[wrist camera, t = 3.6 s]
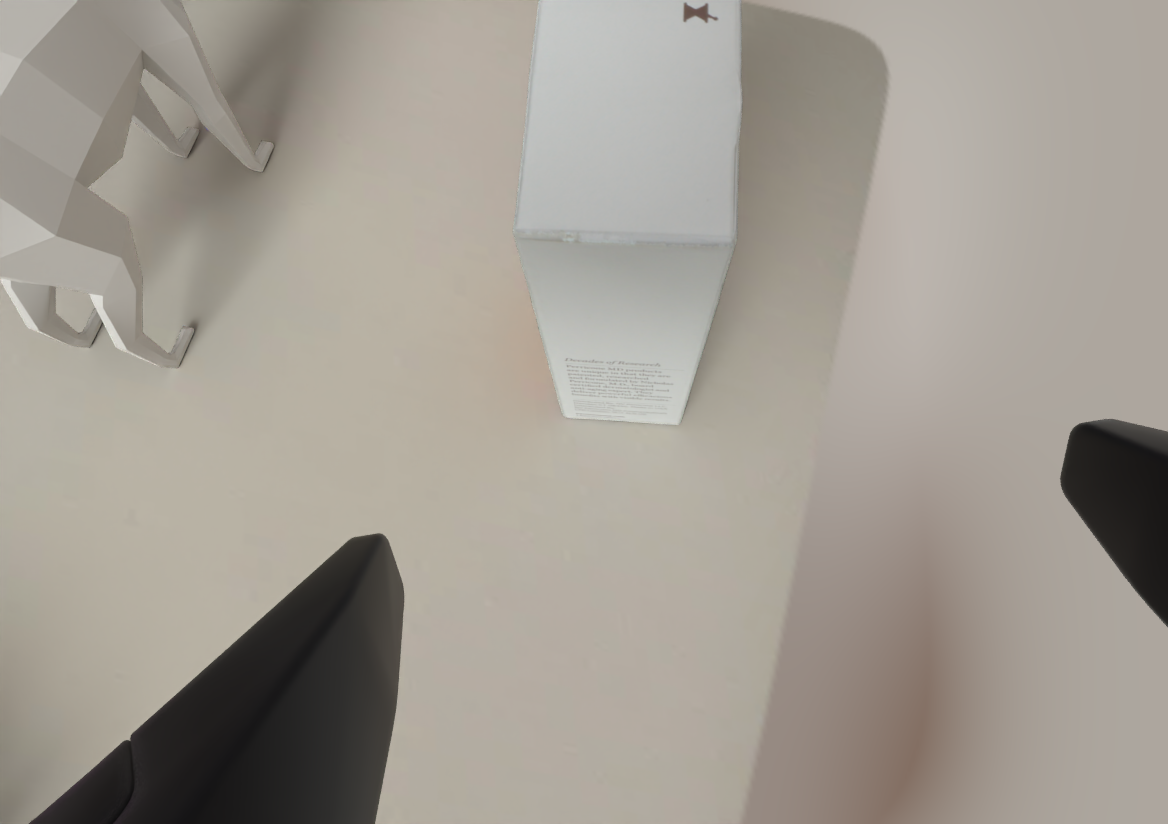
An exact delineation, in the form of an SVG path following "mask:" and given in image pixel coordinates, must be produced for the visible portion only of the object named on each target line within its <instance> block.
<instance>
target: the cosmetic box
mask: <svg viewBox="0 0 1168 824" xmlns="http://www.w3.org/2000/svg"><path fill="white" fill-rule="evenodd" d="M741 55H742V8H741V0H539V3H538V11H537V18H536V26H535V33H534V39H533V47H532V55H531V63H530V71H529V83H528V96H527V107H526V119H525V130H524V138H523V147H522V156H521V165H520V174H519V183H518V192H517V202H516V211H515V219H514V226H513V235H514V238H515V242H516V246H517V249H518V253H519V257H520V261H521V264H522V268H523V272H524V275H525V279H526V282H527V286H528V290H529V293H530V297H531V302H532V306H533V309H534V312H535V316H536V320H537V324H538V328H539V331H540V335H541V339H542V342H543V347H544V350H545V354H546V357H547V361H548V365H549V368H550V372H551V375H552V380H553V383H554V387H555V391H556V394H557V398H558V401H559V405H560V408H561V412H562V415H563V416H564V417H566V418H571V419H597V420H613V421H626V422H639V423H653V424H669V425H678V424H680V423H681V421H682V417H683V414H684V411H685V408H686V405H687V401H688V398H689V394H690V391H691V388H692V385H693V381H694V378H695V375H696V372H697V369H698V366H699V362H700V359H701V356H702V353H703V350H704V347H705V343H706V340H707V337H708V334H709V331H710V328H711V325H712V321H713V318H714V315H715V312H716V308H717V305H718V302H719V298H720V294H721V291H722V288H723V284H724V281H725V278H726V275H727V271H728V268H729V265H730V261H731V258H732V255H733V252H734V248H735V245H736V241H737V236H738V178H739V140H740V129H741V120H742V86H741Z"/></svg>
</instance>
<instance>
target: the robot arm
mask: <svg viewBox="0 0 1168 824" xmlns="http://www.w3.org/2000/svg"><path fill="white" fill-rule="evenodd" d="M1060 480H1061V487H1062V490H1063V493H1064V495H1065V496H1066V498H1067V499H1068V501H1069V502H1070V503H1071V505H1072V506H1073V507H1074V509H1075V510H1076V512H1077V513H1078V514H1079V516H1080V517H1081V518H1082V520H1083V521H1084V522H1085V524H1086V525H1087V526H1088V528H1089V529H1090V531H1091V532H1092V533H1093V535H1094V536H1095V537H1096V539H1097V540H1098V541H1099V542H1100V544H1101V545H1102V547H1103V548H1104V549H1105V551H1106V552H1107V553H1108V554H1109V556H1110V558H1111V559H1112V560H1113V561H1114V563H1115V564H1116V566H1117V567H1118V568H1119V570H1120V571H1121V572H1122V574H1123V575H1124V576H1125V578H1126V579H1127V580H1128V582H1129V583H1130V584H1131V586H1132V587H1133V588H1134V589H1135V591H1136V592H1137V593H1138V594H1139V595H1140V597H1141V598H1142V599H1143V600H1144V601H1145V602H1146V603H1147V605H1148V606H1149V607H1150V608H1151V609H1152V610H1153V611H1154V613H1155V614H1156V615H1157V616H1158V617H1159V618H1160V619H1161V620H1162V621H1163V623H1164V624H1165V625H1166V626H1167V627H1168V432H1167V431H1162V430H1158V429H1154V428H1150V427H1145V426H1141V425H1137V424H1132V423H1127V422H1124V421H1119V420H1114V419H1104V420H1098V421H1092V422H1085V423H1081V424H1078V425H1077V426H1075V427H1074V428H1073V430H1072V431H1071V433H1070V436H1069V440H1068V444H1067V449H1066V453H1065V458H1064V463H1063V467H1062V472H1061V478H1060ZM403 611H404V588H403V583H402V580H401V577H400V574H399V571H398V568H397V565H396V562H395V559H394V556H393V553H392V550H391V547H390V544H389V541H388V540H387V538H386V537H385V536H384V535H383V534H372V535H366V536H359V537H354V538H352V539H350V540H349V541H348V542H346V543H345V544H344V545H343V546H342V547H341V548H340V549H339V550H337V551H336V552H335V553H334V554H333V555H332V556H331V557H330V558H328V559H327V560H326V561H325V562H324V563H323V564H322V565H321V566H320V567H318V568H317V569H316V570H315V571H314V572H313V573H312V574H311V575H309V576H308V577H307V578H306V579H305V580H304V581H303V582H302V583H300V584H299V585H298V586H297V587H296V588H295V589H294V590H293V591H292V592H290V593H289V594H288V595H287V596H286V597H285V598H284V599H283V600H281V601H280V602H279V603H278V604H277V605H276V606H275V607H274V608H273V609H271V610H270V611H269V612H268V613H267V614H266V615H265V616H264V617H262V618H261V619H260V620H259V621H258V622H257V623H256V624H255V625H253V626H252V627H251V628H250V629H249V630H248V631H247V632H246V633H245V634H243V635H242V636H241V637H240V638H239V639H238V640H237V641H236V642H234V643H233V644H232V645H231V646H230V647H229V648H228V649H227V650H225V651H224V652H223V653H222V654H221V655H220V656H219V657H218V658H217V659H215V660H214V661H213V662H212V663H211V664H210V665H209V666H208V667H206V668H205V669H204V670H203V671H202V672H201V673H200V674H199V675H197V676H196V677H195V678H194V679H193V680H192V681H191V682H190V683H188V684H187V685H186V686H185V687H184V688H183V689H182V690H181V691H180V692H178V693H177V694H176V695H175V696H174V697H173V698H172V699H171V700H169V701H168V702H167V703H166V704H165V705H164V706H163V707H162V708H160V709H159V710H158V711H157V712H156V713H155V714H154V715H153V716H151V717H150V718H149V719H148V720H147V721H146V722H145V723H144V724H143V725H141V726H140V727H139V728H138V729H137V730H136V731H135V732H134V733H133V734H132V735H131V738H130V740H131V741H129V740H126V741H123V742H122V743H121V744H120V745H119V746H118V747H117V748H115V749H114V750H113V751H112V752H111V753H110V754H109V755H108V756H107V757H105V758H104V759H103V760H102V761H101V762H100V763H99V764H98V765H96V766H95V767H94V768H93V769H92V770H91V771H90V772H89V773H87V774H86V775H85V776H84V777H83V778H82V779H80V780H79V781H78V782H77V783H76V784H75V785H73V786H72V787H71V788H70V789H69V790H68V791H67V792H65V793H64V794H63V795H62V796H61V797H60V798H58V799H57V800H56V801H55V802H54V803H53V804H52V805H50V806H49V807H48V808H47V809H46V810H45V811H43V812H42V813H41V814H40V815H39V816H38V817H36V818H35V819H34V820H33V821H31V822H30V823H29V824H375V820H376V815H377V810H378V804H379V799H380V794H381V788H382V783H383V778H384V773H385V767H386V762H387V757H388V752H389V746H390V741H391V736H392V731H393V725H394V719H395V713H396V706H397V695H398V682H399V668H400V654H401V640H402V625H403Z"/></svg>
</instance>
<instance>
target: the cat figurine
mask: <svg viewBox="0 0 1168 824" xmlns="http://www.w3.org/2000/svg"><path fill="white" fill-rule="evenodd" d="M143 69H146V70H147V71H149V72H150V73H151V74H153V75H154V76H155V77H156V78H158V79H159V80H160V81H162V82H163V83H164V84H165V85H167V86H168V87H169V88H170V89H172V90H173V91H174V92H176V93H177V94H178V95H179V96H181V97H182V98H183V99H184V100H186V101H187V102H188V103H190V104H191V106H192V107H193V109H194V111H195V112H196V114H197V116H198V117H199V119H200V121H201V123H202V124H203V125H204V126H205V127H206V128H207V129H208V130H209V131H210V132H211V133H212V134H213V135H214V136H215V137H216V138H217V139H218V140H219V141H220V142H221V143H222V144H223V145H224V146H225V147H226V148H227V149H228V150H229V151H230V152H232V153H233V154H234V155H235V156H236V157H237V158H238V159H239V160H240V161H241V162H242V163H243V164H244V165H245V166H246V167H248V168H249V169H251V170H253V171H258V172H263V170H264V168H265V165H266V163H267V161H268V159H269V156H270V154H271V152H272V150H273V147H274V145H273V143H271V142H266V141H261V143H260V145H259V146H258V148H257V150H256V152H255V154H254V153H253V152H252V150H251V148H250V146H249V144H248V142H247V140H246V138H245V136H244V134H243V132H242V130H241V128H240V126H239V124H238V123H237V121H236V119H235V117H234V115H233V113H232V111H231V109H230V107H229V105H228V103H227V101H226V99H225V97H224V96H223V94H222V92H221V91H220V89H219V86H218V84H217V82H216V80H215V77H214V75H213V73H212V71H211V68H210V66H209V64H208V62H207V59H206V57H205V55H204V52H203V50H202V48H201V46H200V43H199V41H198V39H197V37H196V34H195V32H194V30H193V28H192V25H191V23H190V21H189V18H188V16H187V14H186V12H185V10H184V7H183V5H182V3H181V1H180V0H0V279H1V282H2V284H3V287H4V288H5V290H6V292H7V293H8V295H9V297H10V299H11V300H12V302H13V304H14V305H15V307H16V309H17V311H18V312H19V314H20V316H21V318H22V319H23V321H24V323H25V324H26V326H27V328H30V329H32V330H34V331H36V332H39V333H41V334H43V335H45V336H48V337H50V338H52V339H54V340H57V341H59V342H61V343H63V344H66V345H69V346H76V347H87V348H90V346H91V344H92V342H93V340H94V338H95V336H96V334H97V332H98V330H99V328H100V326H101V324H102V322H103V323H104V325H105V327H106V329H107V331H108V333H109V335H110V337H111V339H112V341H113V343H114V345H115V347H116V348H117V349H119V350H122V351H124V352H126V353H129V354H131V355H133V356H136V357H138V358H140V359H143V360H145V361H147V362H150V363H152V364H154V365H156V366H160V367H172V368H178V367H179V365H180V362H181V360H182V358H183V356H184V353H185V351H186V349H187V347H188V344H189V342H190V340H191V338H192V335H193V333H194V329H193V328H191V327H187V326H183V327H182V329H181V331H180V334H179V336H178V338H177V341H176V343H175V345H174V347H173V350H172V351H171V353H167V352H166V351H165V350H163V349H162V348H161V347H160V346H158V345H157V344H156V343H155V342H154V341H152V340H151V339H150V338H149V337H147V336H146V335H145V334H144V333H143V308H142V273H141V269H140V264H139V260H138V256H137V252H136V248H135V244H134V240H133V236H132V232H131V228H130V224H129V220H128V217H127V216H126V215H125V214H123V213H122V212H120V211H119V210H117V209H116V208H115V207H113V206H112V205H110V204H109V203H107V202H106V201H105V200H103V199H102V198H100V197H99V196H97V195H96V194H95V193H93V192H92V191H90V190H89V189H87V188H88V187H89V186H90V185H91V184H92V183H93V182H95V181H96V180H97V179H98V178H99V177H100V176H101V175H103V174H104V173H105V172H106V171H107V170H108V169H110V168H111V167H112V166H113V165H114V164H115V163H116V162H118V161H119V160H120V159H121V158H122V156H123V152H124V148H125V143H126V139H127V135H128V131H129V127H130V123H131V120H132V121H133V122H134V123H135V124H137V125H138V126H139V127H140V128H141V129H143V130H144V131H145V132H146V133H147V134H148V135H150V136H151V137H152V138H153V139H154V140H156V141H157V142H158V143H159V144H160V145H161V146H163V147H164V148H165V149H166V150H167V151H169V152H171V153H172V154H174V155H176V156H179V157H185V158H187V157H188V154H189V152H190V150H191V148H192V146H193V144H194V142H195V140H196V138H197V136H198V134H199V130H198V129H196V128H191V127H187V129H186V130H185V131H184V133H183V134H182V135H181V137H180V138H179V139H178V141H177V139H176V138H175V136H174V134H173V133H172V131H171V130H170V128H169V127H168V125H167V124H166V122H165V120H164V119H163V117H162V116H161V114H160V113H159V111H158V110H157V108H156V106H155V105H154V103H153V102H152V100H151V99H150V97H149V96H148V94H147V92H146V91H145V89H144V88H143V86H142V85H141V83H140V81H141V77H142V73H143ZM56 287H59V288H64V289H69V290H75V291H80V292H84V293H88V294H89V295H90V297H91V300H92V302H93V304H94V306H95V308H94V310H93V312H92V314H91V316H90V318H89V320H88V322H87V324H86V326H85V328H84V330H83V332H81V333H77V332H76V331H75V330H74V329H73V328H72V327H70V326H69V325H68V324H67V323H66V322H65V321H64V320H63V319H61V318H60V317H59V316H58V315H57V314H56Z"/></svg>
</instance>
